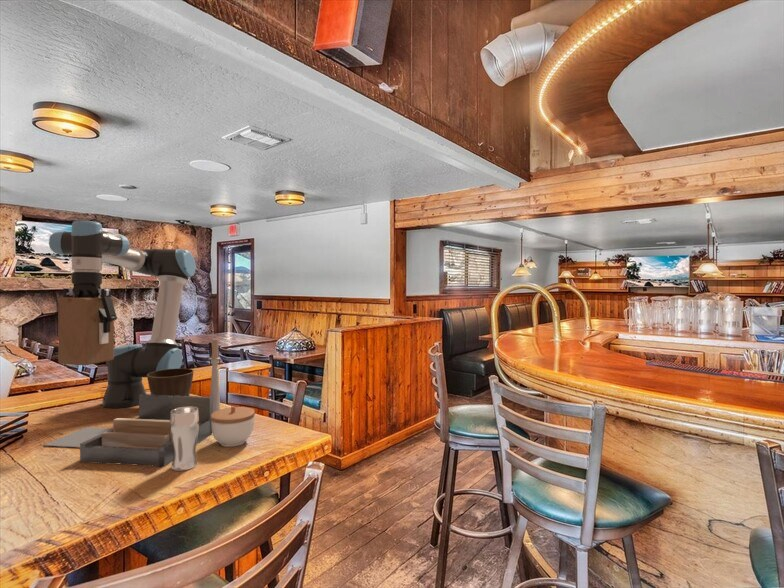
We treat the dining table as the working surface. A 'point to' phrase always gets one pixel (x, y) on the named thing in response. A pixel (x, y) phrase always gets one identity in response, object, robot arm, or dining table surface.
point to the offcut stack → (137, 433)
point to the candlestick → (215, 377)
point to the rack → (154, 410)
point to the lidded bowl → (232, 425)
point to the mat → (77, 437)
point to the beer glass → (184, 437)
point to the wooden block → (82, 332)
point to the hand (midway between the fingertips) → (87, 343)
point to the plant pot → (171, 382)
